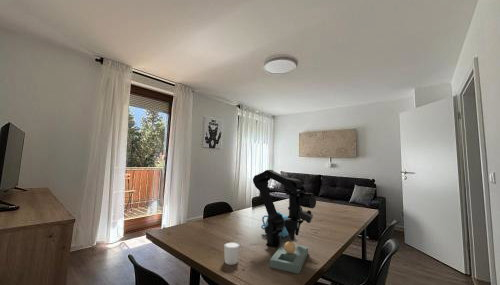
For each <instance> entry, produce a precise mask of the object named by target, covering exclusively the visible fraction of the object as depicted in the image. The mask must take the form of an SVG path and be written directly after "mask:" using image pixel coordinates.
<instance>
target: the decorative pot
mask: <svg viewBox="0 0 500 285" xmlns="http://www.w3.org/2000/svg"><path fill="white" fill-rule="evenodd" d="M276 212H277V213H278V214H282V216H283V219H284V221H285V220H287V219H289V218H288V216H289V215H288V216H287V214H285V213H281V212H280V211H276ZM265 218H267V219H266V220H265ZM267 220H268V214H266V215H263V216H262V219H261V221H262V223H263V224H262V225H261V227H260V228H261V229H262V230H264V231H265V228H266V226H267V225H268V221H267ZM280 236H281V238H286V237H287V236H289V234H288V231H287V229H286V228H285V226H284V228H283V230H282V232H280Z"/></svg>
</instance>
